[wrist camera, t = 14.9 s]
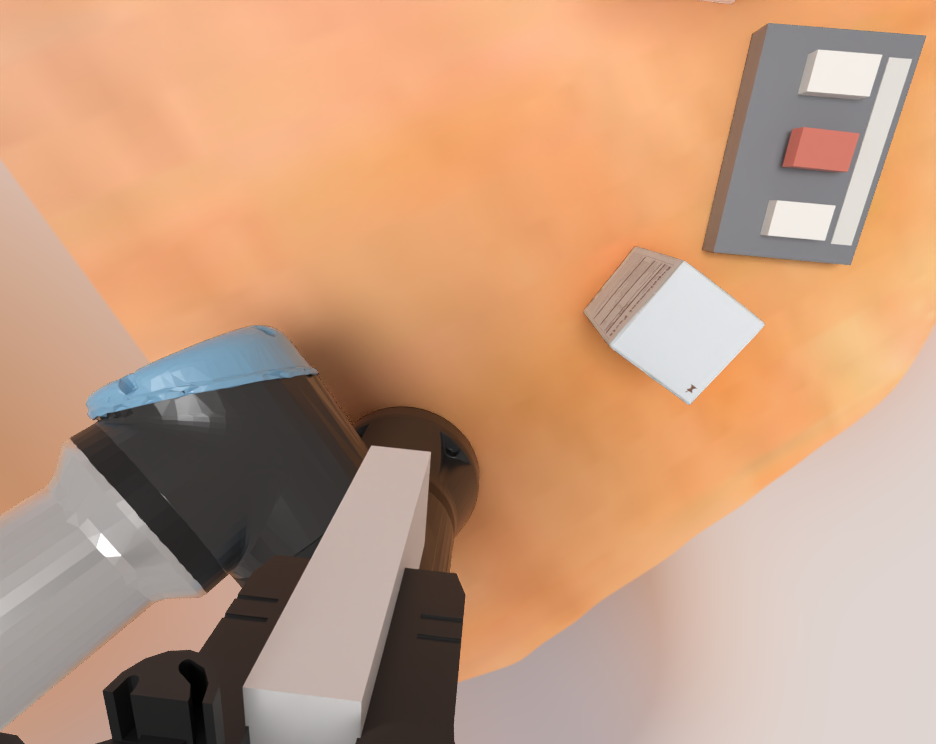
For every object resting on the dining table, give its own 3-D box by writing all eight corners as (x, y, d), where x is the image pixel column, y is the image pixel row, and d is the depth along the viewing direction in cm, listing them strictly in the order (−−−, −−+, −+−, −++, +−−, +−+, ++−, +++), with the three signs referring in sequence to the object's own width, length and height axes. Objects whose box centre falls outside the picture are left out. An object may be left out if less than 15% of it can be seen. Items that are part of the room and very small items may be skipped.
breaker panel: (831, 261, 43) (860, 266, 39) (702, 249, 43) (719, 253, 40) (900, 45, 38) (940, 30, 34) (752, 33, 38) (777, 17, 34)
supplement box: (698, 293, 44) (771, 326, 32) (640, 357, 46) (689, 410, 34) (635, 242, 43) (686, 257, 31) (579, 310, 45) (607, 348, 33)
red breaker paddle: (835, 172, 38) (847, 171, 37) (782, 166, 38) (793, 166, 37) (846, 135, 37) (859, 133, 36) (792, 129, 37) (803, 126, 36)
